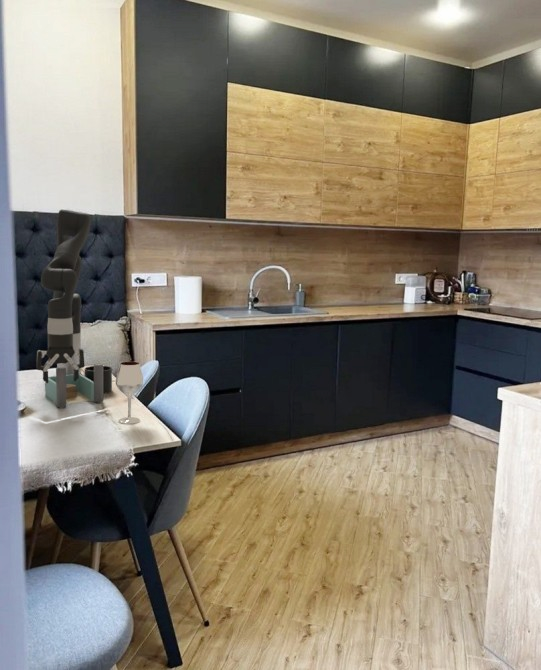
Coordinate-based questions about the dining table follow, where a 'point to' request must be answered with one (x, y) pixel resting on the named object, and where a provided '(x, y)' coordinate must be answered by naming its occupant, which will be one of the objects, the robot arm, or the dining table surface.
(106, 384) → the mug
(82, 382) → the teal open box
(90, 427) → the dining table surface
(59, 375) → the flap near
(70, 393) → the walnut block
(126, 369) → the wineglass
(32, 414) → the dining table surface
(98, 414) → the dining table surface
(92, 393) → the flap far
